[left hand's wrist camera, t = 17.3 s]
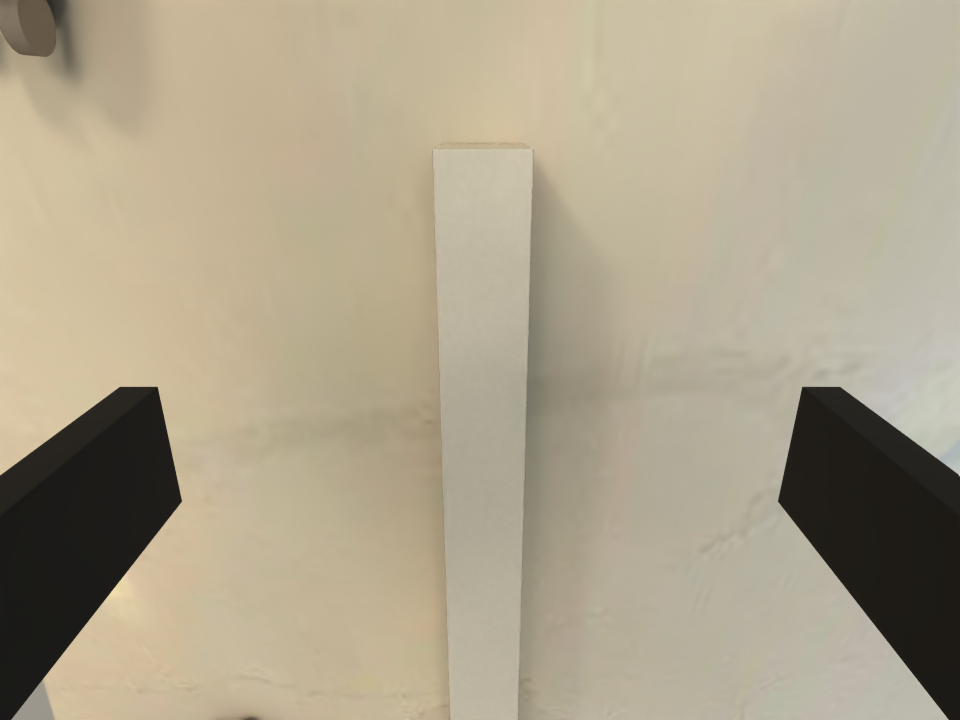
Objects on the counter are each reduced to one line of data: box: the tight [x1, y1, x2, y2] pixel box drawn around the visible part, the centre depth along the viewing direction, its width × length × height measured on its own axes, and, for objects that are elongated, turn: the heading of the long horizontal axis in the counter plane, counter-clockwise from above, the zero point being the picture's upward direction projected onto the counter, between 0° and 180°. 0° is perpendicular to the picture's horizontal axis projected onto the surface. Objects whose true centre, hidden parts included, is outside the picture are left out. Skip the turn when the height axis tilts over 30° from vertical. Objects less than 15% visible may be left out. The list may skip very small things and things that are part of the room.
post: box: [432, 143, 534, 720], centre depth 49 cm, size 62×6×8 cm, turn 0°
